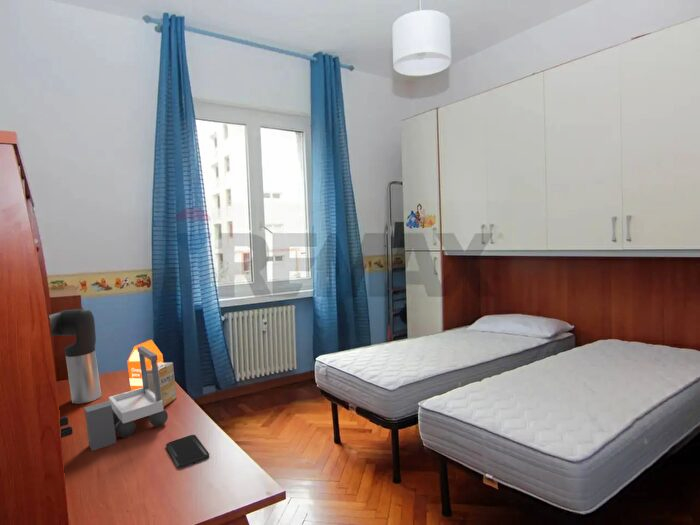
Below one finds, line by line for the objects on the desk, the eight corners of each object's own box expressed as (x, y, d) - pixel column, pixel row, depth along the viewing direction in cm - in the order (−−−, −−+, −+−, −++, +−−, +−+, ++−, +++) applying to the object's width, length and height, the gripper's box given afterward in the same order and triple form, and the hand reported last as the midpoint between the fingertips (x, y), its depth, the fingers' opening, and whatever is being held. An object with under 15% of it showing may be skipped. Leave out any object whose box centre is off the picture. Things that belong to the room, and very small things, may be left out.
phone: (194, 433, 122) (210, 454, 109) (194, 437, 122) (210, 459, 109) (164, 443, 117) (177, 466, 105) (165, 447, 117) (178, 471, 105)
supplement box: (163, 408, 144) (158, 370, 143) (150, 408, 145) (145, 370, 144) (177, 398, 152) (173, 361, 151) (165, 398, 153) (161, 362, 152)
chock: (89, 445, 121) (84, 407, 121) (113, 437, 125) (108, 400, 124) (92, 451, 118) (86, 412, 117) (116, 442, 122) (111, 405, 121)
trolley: (106, 423, 135) (97, 355, 134) (153, 408, 144) (145, 344, 142) (119, 442, 122) (109, 367, 120) (170, 425, 130) (162, 354, 128)
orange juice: (167, 392, 158) (161, 339, 156) (150, 402, 150) (143, 346, 148) (149, 392, 160) (142, 339, 158) (131, 402, 152) (124, 346, 150)
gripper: (-11, 443, 100) (72, 419, 111) (-10, 424, 111) (64, 404, 122) (-6, 473, 101) (75, 447, 111) (-6, 452, 112) (68, 430, 122)
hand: (69, 424), depth 116 cm, fingers open, 8 cm apart
